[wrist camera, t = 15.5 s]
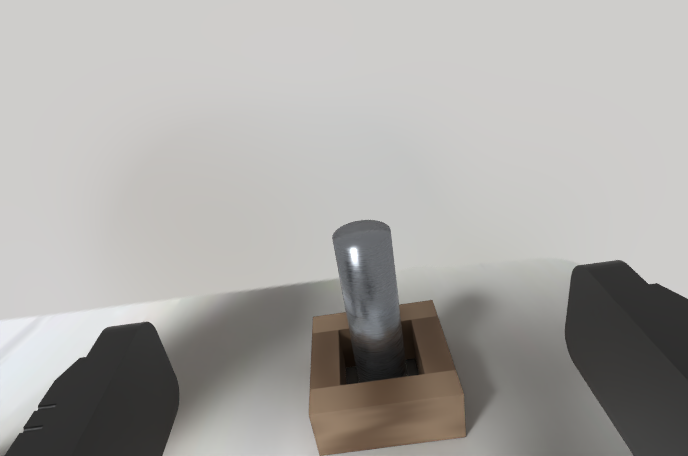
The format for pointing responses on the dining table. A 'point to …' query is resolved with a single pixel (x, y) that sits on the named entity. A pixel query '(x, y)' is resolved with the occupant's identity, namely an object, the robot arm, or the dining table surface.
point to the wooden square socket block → (384, 388)
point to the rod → (371, 299)
